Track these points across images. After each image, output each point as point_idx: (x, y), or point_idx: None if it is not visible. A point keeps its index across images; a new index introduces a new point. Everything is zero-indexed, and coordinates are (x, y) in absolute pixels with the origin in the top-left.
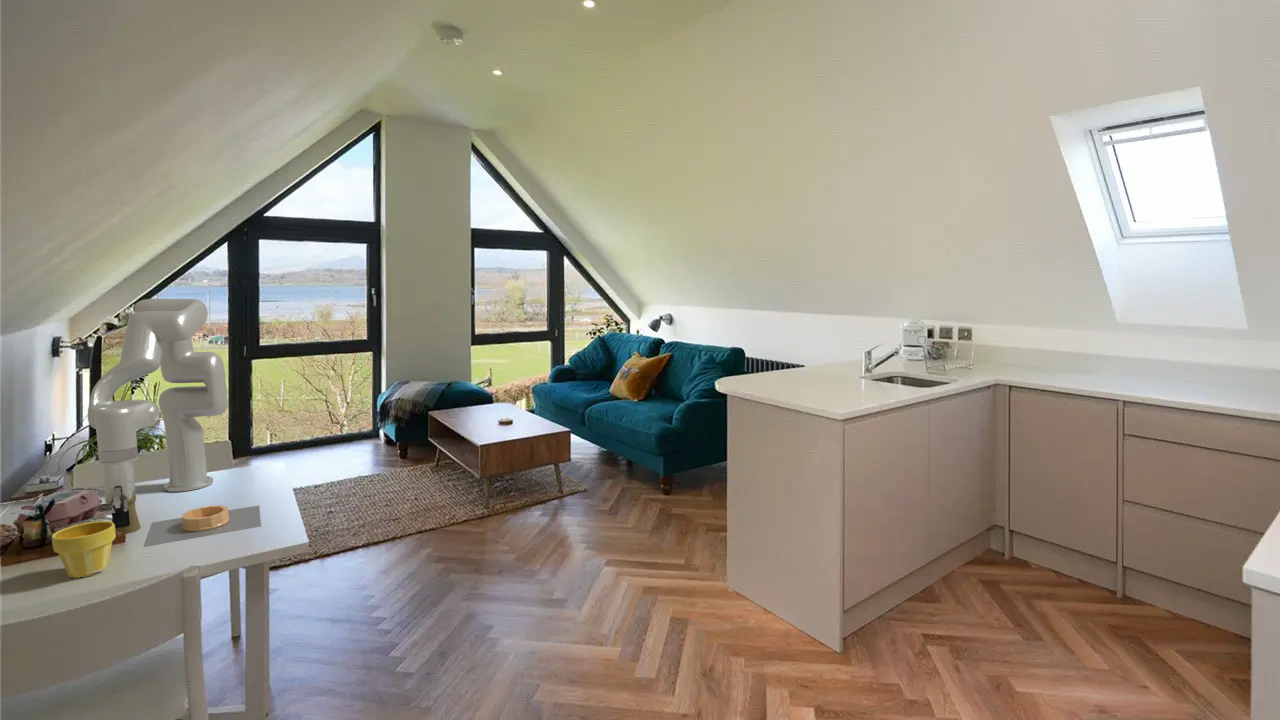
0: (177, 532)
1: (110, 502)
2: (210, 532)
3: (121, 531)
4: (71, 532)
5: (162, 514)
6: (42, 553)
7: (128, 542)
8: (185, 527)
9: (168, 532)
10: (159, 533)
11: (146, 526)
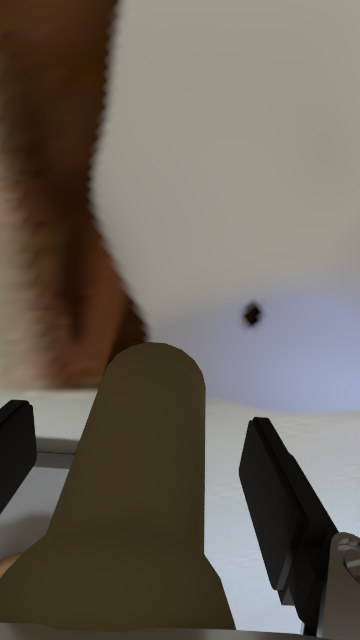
0: (8, 538)
1: (20, 596)
2: None
3: (95, 397)
4: None
5: (325, 487)
6: (76, 57)
7: (36, 399)
8: (2, 574)
9: (23, 518)
10: (29, 496)
11: (207, 446)
